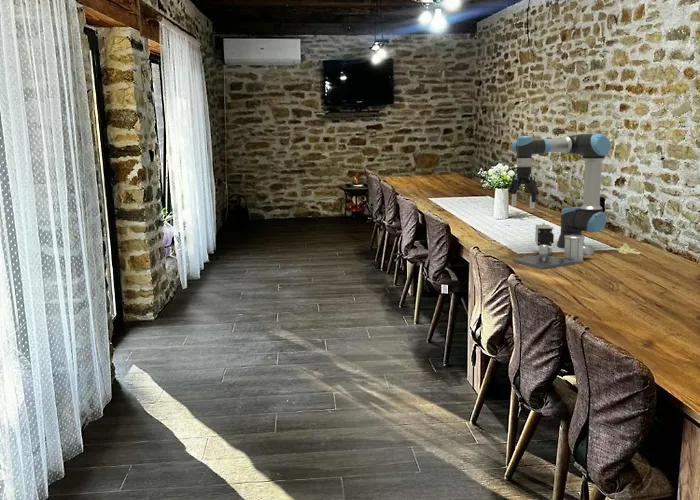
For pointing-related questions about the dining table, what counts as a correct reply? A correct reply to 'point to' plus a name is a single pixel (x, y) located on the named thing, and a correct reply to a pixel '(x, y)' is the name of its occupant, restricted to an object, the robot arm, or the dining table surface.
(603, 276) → the dining table surface
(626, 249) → the cloth
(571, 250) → the grey metal fitting
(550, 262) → the grey metal plate
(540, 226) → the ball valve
